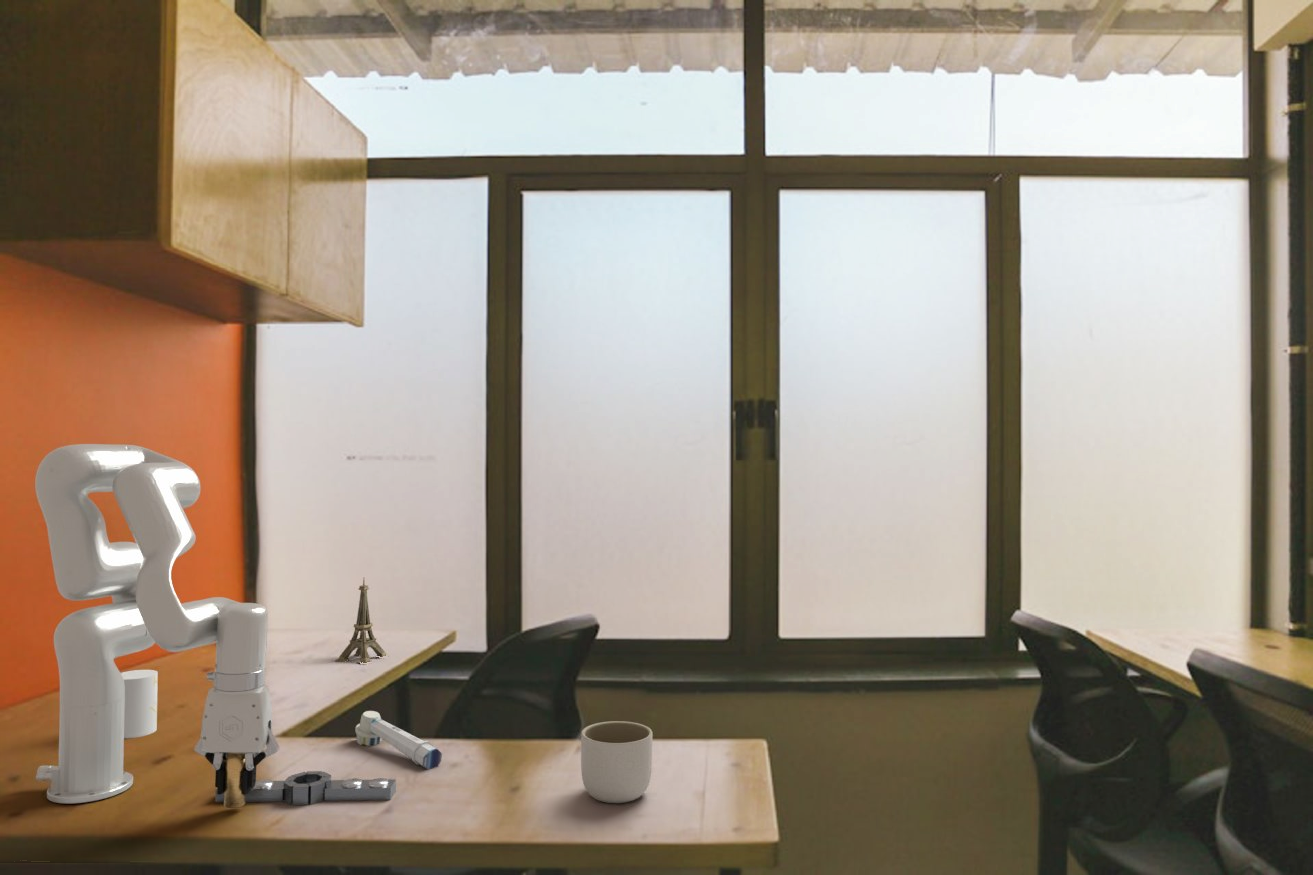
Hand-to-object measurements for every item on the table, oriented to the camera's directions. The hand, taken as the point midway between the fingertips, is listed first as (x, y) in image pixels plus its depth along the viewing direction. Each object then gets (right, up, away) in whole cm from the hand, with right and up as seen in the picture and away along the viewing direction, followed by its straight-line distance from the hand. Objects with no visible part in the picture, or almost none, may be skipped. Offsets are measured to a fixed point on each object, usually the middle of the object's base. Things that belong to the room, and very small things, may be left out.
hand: (235, 790), depth 145 cm
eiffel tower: (-14, -5, +105) cm, 106 cm away
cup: (-40, -4, +39) cm, 56 cm away
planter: (+62, -4, +9) cm, 63 cm away
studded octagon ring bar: (+9, -4, +6) cm, 12 cm away
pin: (0, -2, 0) cm, 2 cm away
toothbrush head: (+18, -5, +29) cm, 34 cm away
